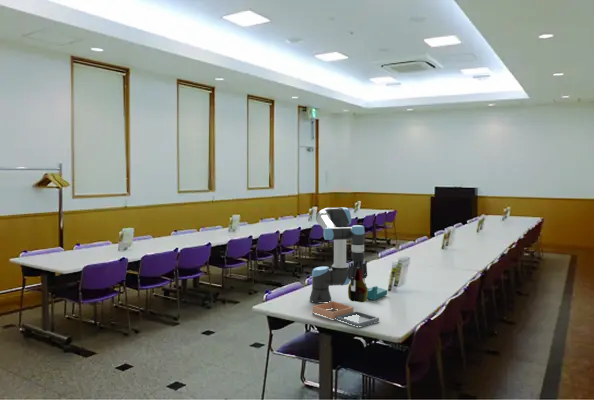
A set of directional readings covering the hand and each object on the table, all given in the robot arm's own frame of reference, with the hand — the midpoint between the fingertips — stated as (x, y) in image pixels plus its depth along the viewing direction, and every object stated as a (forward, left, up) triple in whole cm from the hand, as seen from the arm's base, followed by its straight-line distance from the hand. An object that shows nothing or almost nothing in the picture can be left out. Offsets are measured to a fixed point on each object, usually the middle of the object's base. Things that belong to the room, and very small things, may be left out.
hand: (357, 289), depth 283 cm
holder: (-19, -2, -19) cm, 27 cm away
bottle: (0, 0, -7) cm, 7 cm away
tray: (0, 0, -19) cm, 19 cm away
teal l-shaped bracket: (-31, +50, -19) cm, 62 cm away
